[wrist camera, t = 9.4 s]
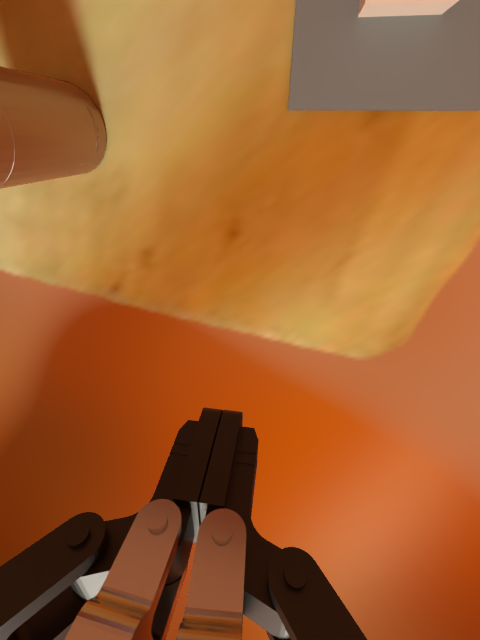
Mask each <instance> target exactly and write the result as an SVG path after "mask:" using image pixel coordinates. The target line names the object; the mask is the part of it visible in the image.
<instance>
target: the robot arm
mask: <svg viewBox="0 0 480 640" xmlns="http://www.w3.org/2000/svg"><path fill="white" fill-rule="evenodd" d="M106 141H107V140H106V130H105V126H104V122H103V119H102V117H101V115H100V113H99V110H98V109H97V107H96V106H95V104H94V103H93V101H92V100H91V99H90V98H89V97H88V96H87V94H86V93H84V92H83V91H82V90H81V89H79V88H78V87H76V86H74V85H72V84H70V83H67V82H63V81H59V80H55V79H51V78H47V77H43V76H40V75H36V74H31V73H27V72H23V71H19V70H14V69H10V68H6V67H2V66H0V189H1V188H6V187H12V186H17V185H23V184H28V183H34V182H39V181H45V180H50V179H56V178H62V177H68V176H73V175H78V174H83V173H88V172H90V171H92V170H94V169H95V168H96V167H97V166H98V165H99V164H100V162H101V160H102V159H103V157H104V153H105V150H106ZM242 418H243V414H242V412H237V411H229V410H220V409H211V408H203V410H202V413H201V416H200V419H199V421H191V420H188V421H187V422H186V423H185V424H184V425H183V426H182V428H181V429H180V430H179V431H178V434H177V437H176V439H175V442H174V445H173V447H172V449H171V452H170V456H169V457H168V460H167V462H166V465H165V467H164V470H163V473H162V475H161V478H160V480H159V483H158V485H157V488H156V490H155V493H154V495H153V497H152V499H151V500H150V502H149V503H148V504H147V505H145V506H144V507H143V508H142V509H141V510H140V511H139V512H138V513H136V514H134V515H132V516H129V517H125V518H120V519H114V520H109V521H103V519H102V518H101V516H99V515H98V514H96V513H92V512H86V513H81V514H78V515H76V516H74V517H72V518H71V519H69V520H68V521H66V522H65V523H63V524H62V525H61V526H59V527H58V528H56V529H55V530H53V531H52V532H50V533H49V534H48V535H46V536H44V537H43V538H42V539H40V540H39V541H37V542H36V543H34V544H33V545H31V546H30V547H28V548H27V549H25V550H24V551H23V552H21V553H20V554H18V555H17V556H15V557H14V558H12V559H11V560H9V561H8V562H7V563H5V564H4V565H2V566H1V567H0V640H166V637H167V633H168V631H169V627H170V624H171V621H172V618H173V614H174V611H175V608H176V605H177V602H178V598H179V595H180V592H181V589H182V586H183V582H184V579H185V576H186V573H187V568H188V560H189V556H190V552H191V548H192V544H193V542H196V549H195V555H194V560H193V567H192V572H191V578H190V584H189V590H188V595H187V601H186V607H185V612H184V617H183V620H182V622H181V624H180V627H179V630H178V634H177V638H176V640H242V624H243V614H244V615H245V616H247V617H248V618H249V619H251V620H252V621H254V622H255V623H256V624H258V625H259V626H261V627H262V628H264V629H265V630H266V632H267V635H268V637H269V639H270V640H367V639H366V637H365V636H364V634H363V633H362V631H361V630H360V628H359V627H358V625H357V624H356V622H355V621H354V619H353V618H352V616H351V614H350V613H349V611H348V610H347V609H346V607H345V605H344V604H343V602H342V601H341V600H340V598H339V596H338V595H337V593H336V592H335V590H334V589H333V587H332V586H331V584H330V583H329V581H328V580H327V578H326V577H325V575H324V574H323V572H322V571H321V569H320V568H319V566H318V565H317V563H316V562H315V560H313V558H312V557H311V556H310V555H309V554H308V553H307V552H305V551H303V550H301V549H299V548H295V547H288V548H284V549H281V548H279V547H277V546H275V545H273V544H272V543H270V542H269V541H267V540H265V539H264V538H263V537H261V536H260V535H259V533H258V532H257V531H256V529H255V528H254V526H253V524H252V521H251V513H252V504H253V495H254V487H255V478H256V469H257V454H258V438H257V436H256V432H255V430H254V428H249V427H242Z"/></svg>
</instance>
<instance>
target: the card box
mask: <svg viewBox="0 0 480 640" xmlns="http://www.w3.org/2000/svg"><path fill="white" fill-rule="evenodd" d="M458 1H459V0H360V3H359V10H358V17H381V16H412V15H442V14H443V13H444V12H445V11H447V10H448V9H449V8H450V7H452V6H453V5H454V4H455V3H457V2H458Z"/></svg>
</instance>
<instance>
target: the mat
mask: <svg viewBox="0 0 480 640" xmlns="http://www.w3.org/2000/svg"><path fill="white" fill-rule="evenodd" d="M359 3H360V0H296V10H295V23H294V37H293V51H292V65H291V78H290V92H289V106H288V110H430V111H478V110H480V0H459V1H458V2H457V3H455V4H454V5H453V6H452V7H450V8H449V9H448V10H447V11H445V12H444V13H443V14H442V15H412V16H381V17H358V10H359Z"/></svg>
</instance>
